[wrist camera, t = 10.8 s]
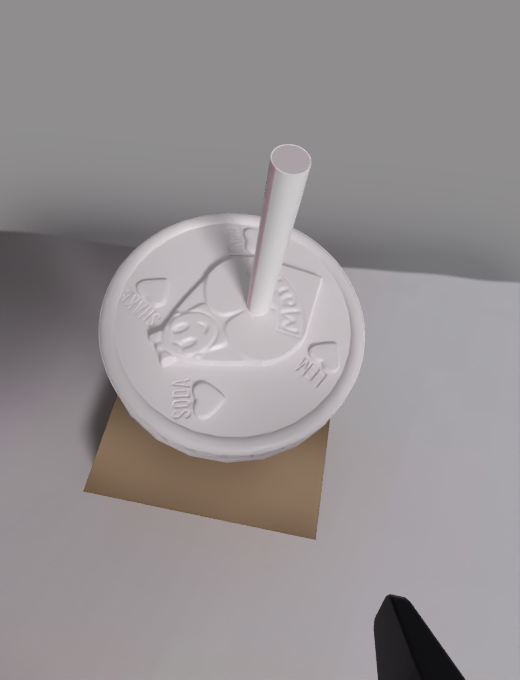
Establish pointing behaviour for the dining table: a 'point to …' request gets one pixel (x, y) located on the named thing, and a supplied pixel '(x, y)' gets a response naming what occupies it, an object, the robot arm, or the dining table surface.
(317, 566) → the dining table surface
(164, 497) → the plate
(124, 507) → the dining table surface
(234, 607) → the dining table surface
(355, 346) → the smoothie
